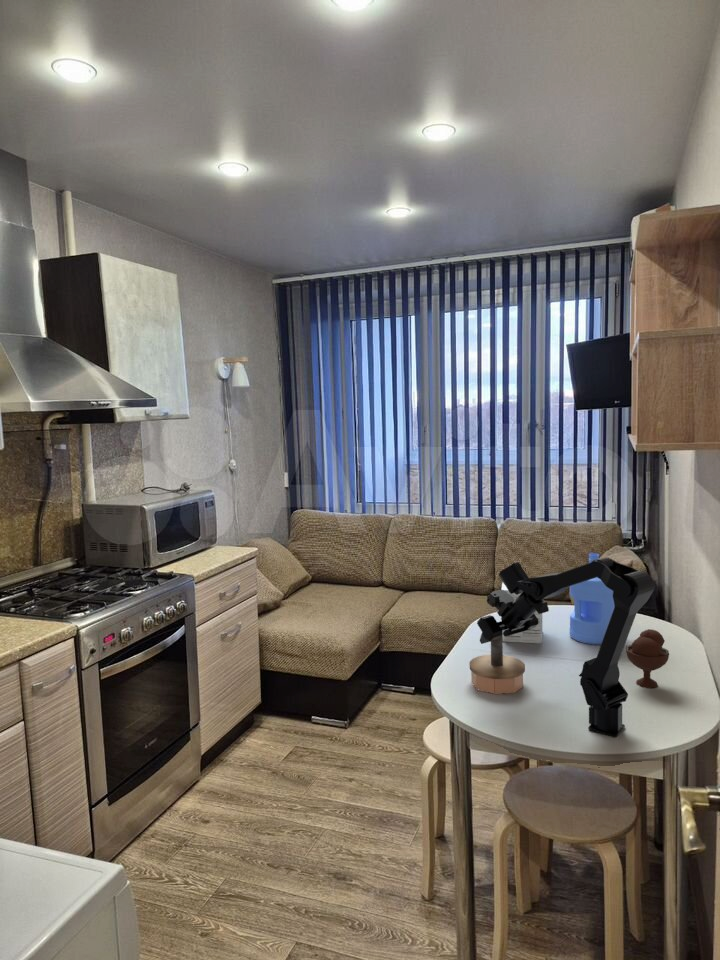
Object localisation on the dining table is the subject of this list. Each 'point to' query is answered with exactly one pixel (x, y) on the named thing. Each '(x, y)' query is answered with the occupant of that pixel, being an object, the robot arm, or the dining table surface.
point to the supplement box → (529, 635)
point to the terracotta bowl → (497, 684)
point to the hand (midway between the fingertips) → (492, 638)
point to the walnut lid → (497, 663)
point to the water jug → (591, 609)
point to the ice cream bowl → (648, 655)
